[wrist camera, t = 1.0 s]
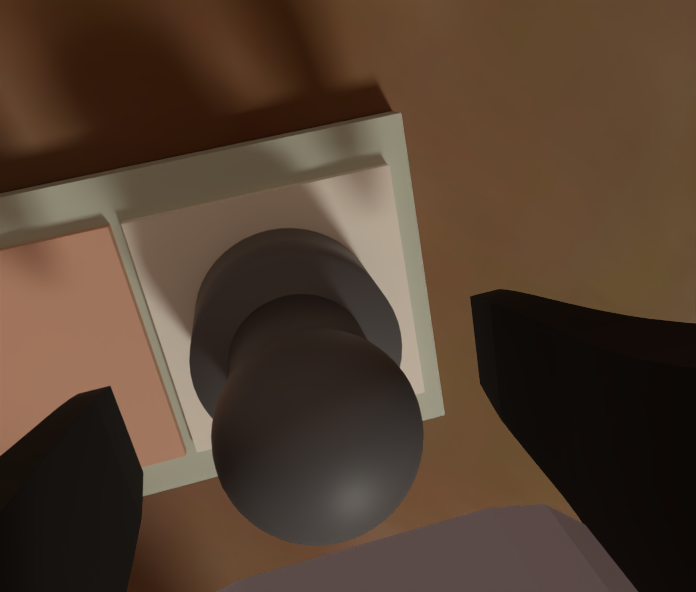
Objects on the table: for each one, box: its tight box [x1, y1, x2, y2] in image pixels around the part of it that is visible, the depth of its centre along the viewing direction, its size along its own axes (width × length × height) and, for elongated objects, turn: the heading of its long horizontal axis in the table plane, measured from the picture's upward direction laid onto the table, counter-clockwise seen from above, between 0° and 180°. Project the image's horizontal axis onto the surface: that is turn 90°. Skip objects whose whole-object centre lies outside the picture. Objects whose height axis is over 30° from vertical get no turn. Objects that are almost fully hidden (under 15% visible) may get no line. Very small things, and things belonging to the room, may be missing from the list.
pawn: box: [189, 228, 423, 545], centre depth 12 cm, size 5×5×7 cm
